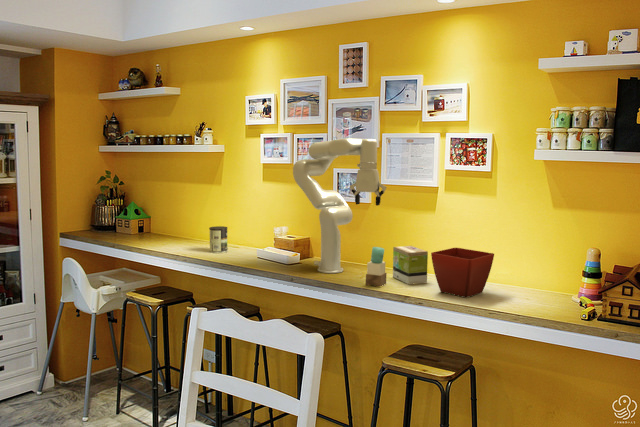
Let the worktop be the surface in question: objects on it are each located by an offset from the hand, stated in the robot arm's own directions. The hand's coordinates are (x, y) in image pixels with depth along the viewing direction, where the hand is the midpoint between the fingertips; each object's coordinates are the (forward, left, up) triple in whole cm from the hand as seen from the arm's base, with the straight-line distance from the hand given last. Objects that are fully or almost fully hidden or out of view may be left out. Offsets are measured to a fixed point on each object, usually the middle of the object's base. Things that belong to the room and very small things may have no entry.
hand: (367, 204), depth 250 cm
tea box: (+18, +8, -35) cm, 40 cm away
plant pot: (+44, -3, -35) cm, 56 cm away
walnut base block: (+8, -7, -34) cm, 36 cm away
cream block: (+8, -7, -30) cm, 31 cm away
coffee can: (-101, +23, -34) cm, 109 cm away
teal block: (+8, -7, -24) cm, 26 cm away
